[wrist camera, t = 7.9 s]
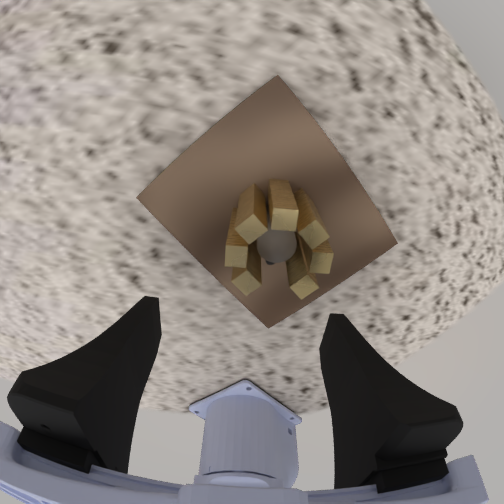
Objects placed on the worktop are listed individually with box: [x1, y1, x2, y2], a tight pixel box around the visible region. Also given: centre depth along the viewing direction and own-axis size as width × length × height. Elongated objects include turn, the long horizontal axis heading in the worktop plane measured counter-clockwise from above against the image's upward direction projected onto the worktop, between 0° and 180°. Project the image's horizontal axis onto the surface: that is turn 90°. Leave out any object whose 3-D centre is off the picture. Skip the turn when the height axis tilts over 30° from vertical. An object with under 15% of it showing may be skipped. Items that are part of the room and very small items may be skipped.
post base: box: [136, 75, 398, 328], centre depth 19 cm, size 13×11×5 cm
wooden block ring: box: [225, 179, 334, 300], centre depth 17 cm, size 5×5×5 cm
